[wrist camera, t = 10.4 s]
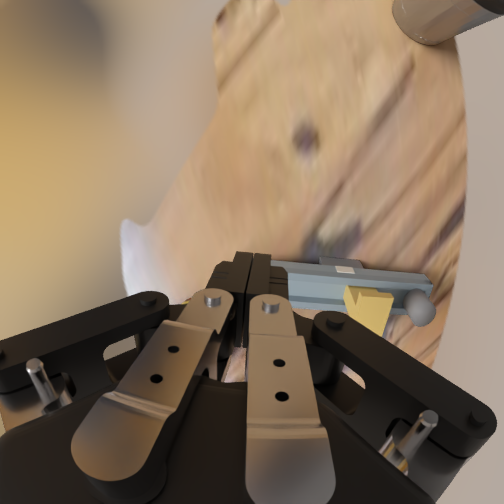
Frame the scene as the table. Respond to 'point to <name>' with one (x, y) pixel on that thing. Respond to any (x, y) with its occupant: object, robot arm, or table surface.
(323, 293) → the beam
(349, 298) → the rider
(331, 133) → the table surface
